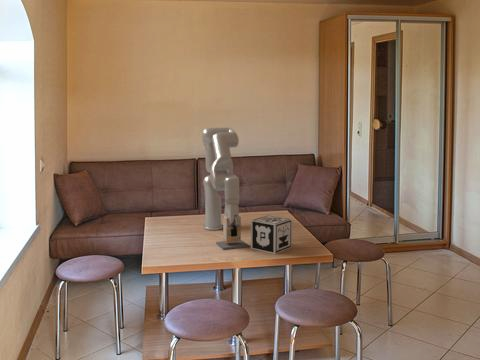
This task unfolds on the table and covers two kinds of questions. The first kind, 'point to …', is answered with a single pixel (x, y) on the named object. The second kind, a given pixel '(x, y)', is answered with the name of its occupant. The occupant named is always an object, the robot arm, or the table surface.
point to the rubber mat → (232, 245)
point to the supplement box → (227, 230)
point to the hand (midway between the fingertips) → (232, 234)
